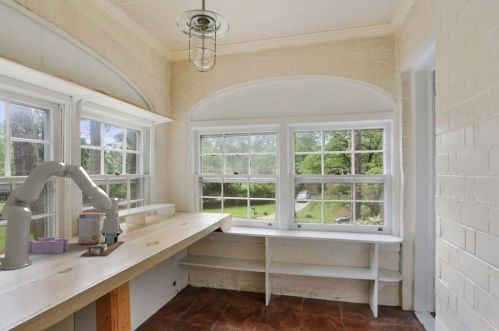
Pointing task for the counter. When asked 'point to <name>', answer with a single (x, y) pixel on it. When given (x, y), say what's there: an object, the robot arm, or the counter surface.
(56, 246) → the purple piece
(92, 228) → the cracker box
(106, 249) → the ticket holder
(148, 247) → the counter surface
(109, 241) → the stub
